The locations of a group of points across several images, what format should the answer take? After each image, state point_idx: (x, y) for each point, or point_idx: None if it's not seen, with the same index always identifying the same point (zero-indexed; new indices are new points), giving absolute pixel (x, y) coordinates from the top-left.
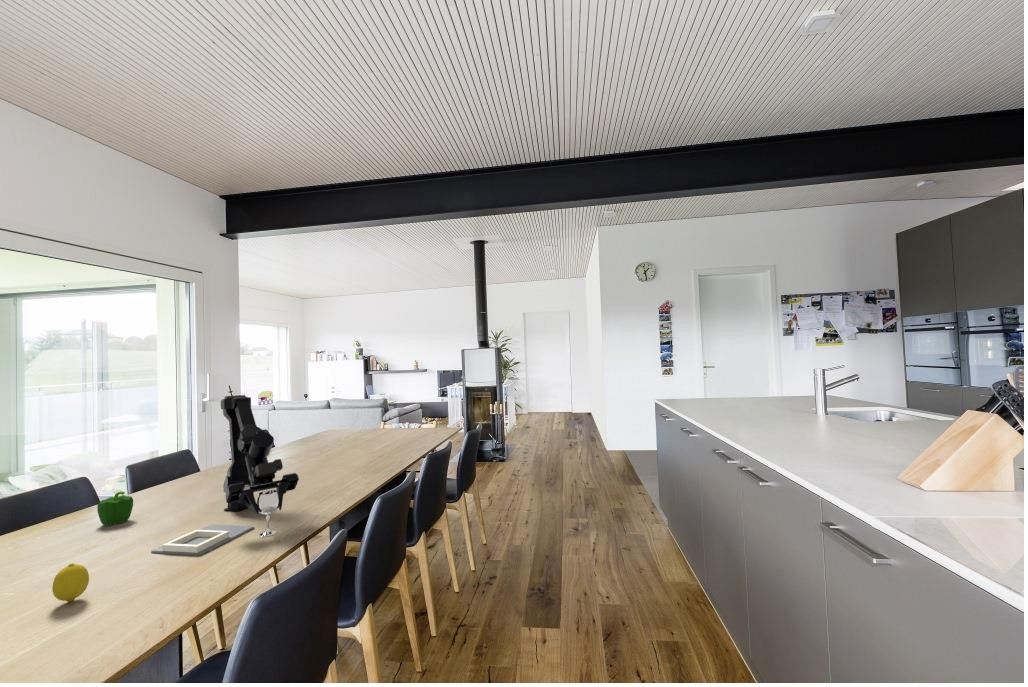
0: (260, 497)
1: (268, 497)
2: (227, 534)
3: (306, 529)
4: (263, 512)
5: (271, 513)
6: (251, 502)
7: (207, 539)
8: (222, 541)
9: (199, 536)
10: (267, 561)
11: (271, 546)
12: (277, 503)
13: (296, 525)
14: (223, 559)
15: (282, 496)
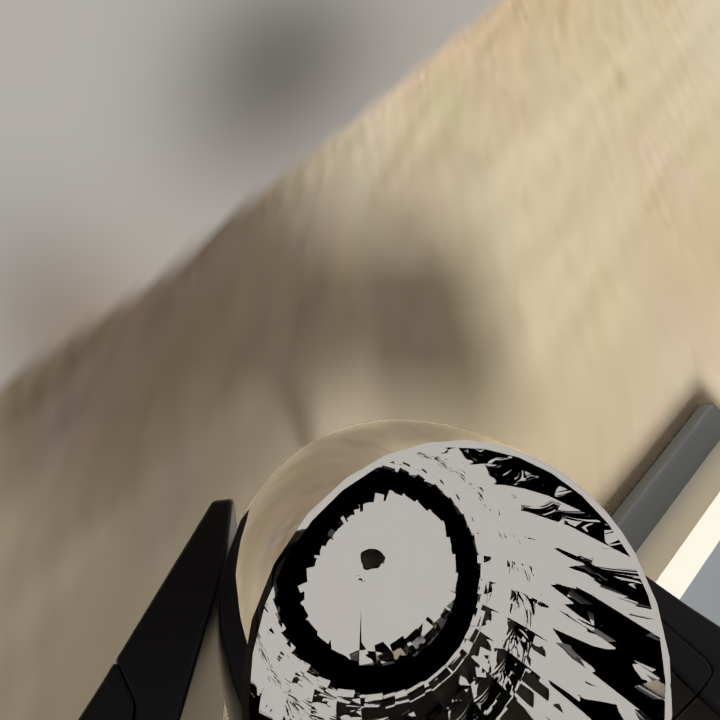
0: (591, 524)
1: (454, 432)
2: None
3: (63, 410)
4: (437, 465)
5: (333, 512)
6: (664, 591)
7: None
8: None
9: None
10: (414, 77)
11: (361, 255)
12: (272, 475)
13: (85, 588)
14: (592, 260)
15: (120, 671)
